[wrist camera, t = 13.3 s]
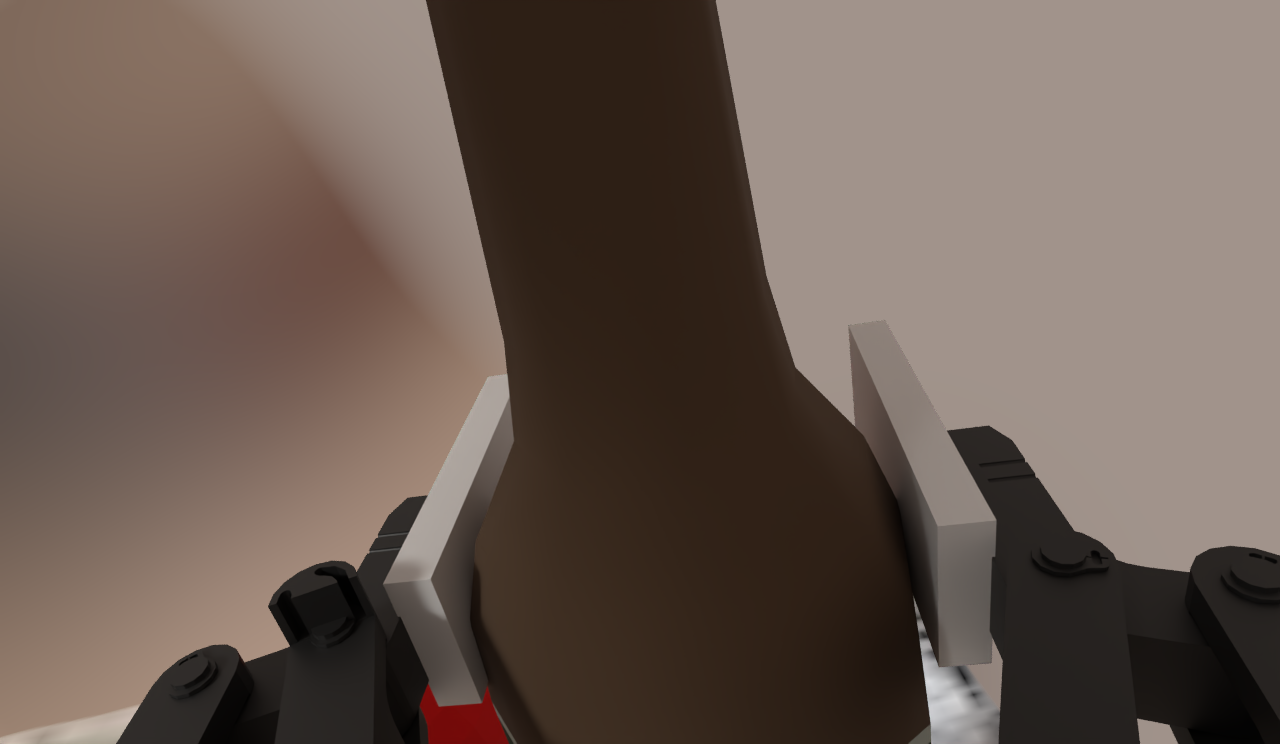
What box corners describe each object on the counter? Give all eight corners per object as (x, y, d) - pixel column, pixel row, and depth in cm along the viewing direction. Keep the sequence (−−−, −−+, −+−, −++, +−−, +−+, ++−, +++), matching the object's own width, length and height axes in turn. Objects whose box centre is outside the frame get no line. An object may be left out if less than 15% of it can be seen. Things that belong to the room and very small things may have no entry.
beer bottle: (851, 771, 22) (758, -237, 11) (1019, 1113, 15) (1188, -639, 4) (596, 850, 21) (238, -137, 11) (648, 1245, 15) (-216, -426, 4)
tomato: (458, 974, 27) (361, 807, 23) (261, 884, 32) (148, 729, 27) (583, 729, 36) (531, 570, 31) (413, 684, 40) (345, 539, 36)
